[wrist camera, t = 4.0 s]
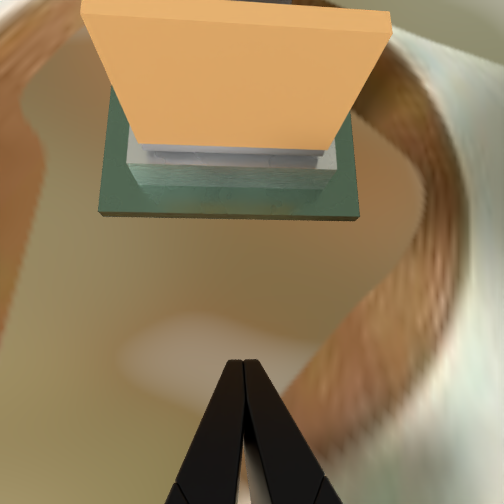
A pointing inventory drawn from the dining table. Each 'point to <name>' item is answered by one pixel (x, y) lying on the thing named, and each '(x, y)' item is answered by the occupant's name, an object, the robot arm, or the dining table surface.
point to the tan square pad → (235, 71)
